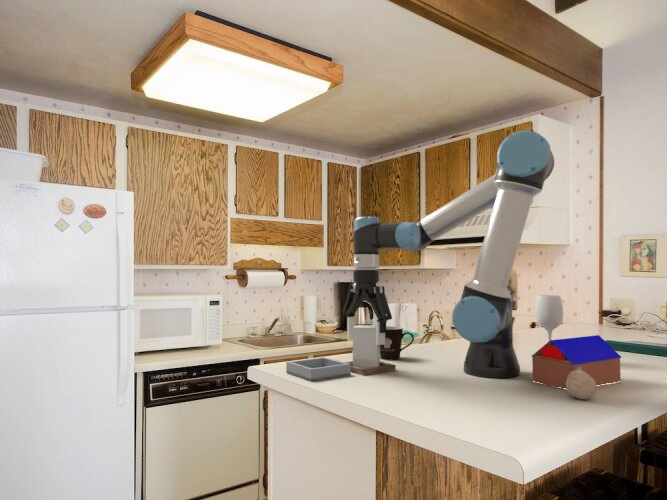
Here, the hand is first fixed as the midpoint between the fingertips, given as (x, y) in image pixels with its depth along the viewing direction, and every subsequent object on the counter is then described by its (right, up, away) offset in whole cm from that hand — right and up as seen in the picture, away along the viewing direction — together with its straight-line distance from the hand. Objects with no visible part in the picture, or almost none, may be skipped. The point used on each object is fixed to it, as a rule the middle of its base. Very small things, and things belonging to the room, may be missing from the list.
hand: (365, 341), depth 139 cm
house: (+53, -8, -17) cm, 57 cm away
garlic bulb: (+46, -7, -33) cm, 57 cm away
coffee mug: (+10, -9, +16) cm, 21 cm away
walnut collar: (0, -8, -1) cm, 8 cm away
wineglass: (+60, -9, +12) cm, 62 cm away
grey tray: (-14, -8, -7) cm, 17 cm away
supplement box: (0, -8, -1) cm, 8 cm away
